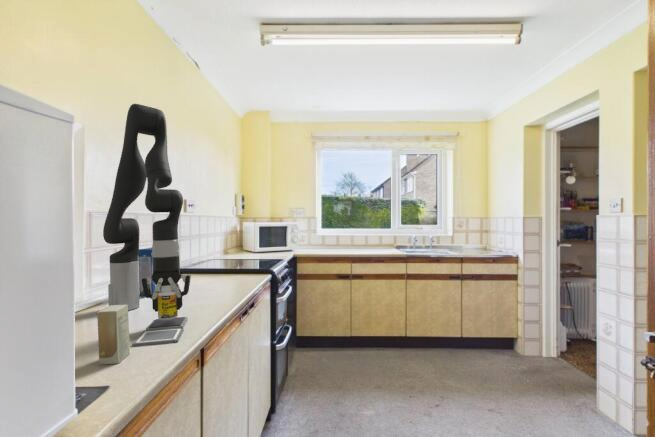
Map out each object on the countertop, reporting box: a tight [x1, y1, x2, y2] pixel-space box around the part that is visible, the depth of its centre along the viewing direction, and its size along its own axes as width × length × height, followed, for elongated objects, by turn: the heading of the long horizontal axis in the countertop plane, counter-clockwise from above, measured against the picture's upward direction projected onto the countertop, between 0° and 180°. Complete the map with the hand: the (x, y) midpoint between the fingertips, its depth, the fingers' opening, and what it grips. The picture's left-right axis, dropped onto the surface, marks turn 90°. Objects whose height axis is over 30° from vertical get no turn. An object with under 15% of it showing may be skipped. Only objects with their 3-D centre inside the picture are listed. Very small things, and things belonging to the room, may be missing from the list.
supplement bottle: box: [157, 285, 179, 320], centre depth 113 cm, size 6×6×10 cm
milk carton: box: [138, 247, 156, 297], centre depth 162 cm, size 10×6×20 cm, turn 172°
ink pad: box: [145, 316, 188, 332], centre depth 113 cm, size 10×10×1 cm
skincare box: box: [96, 305, 131, 365], centre depth 87 cm, size 6×4×12 cm
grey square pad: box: [131, 328, 185, 347], centre depth 101 cm, size 11×10×1 cm
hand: (167, 309), depth 113 cm, fingers closed on supplement bottle, 5 cm apart
